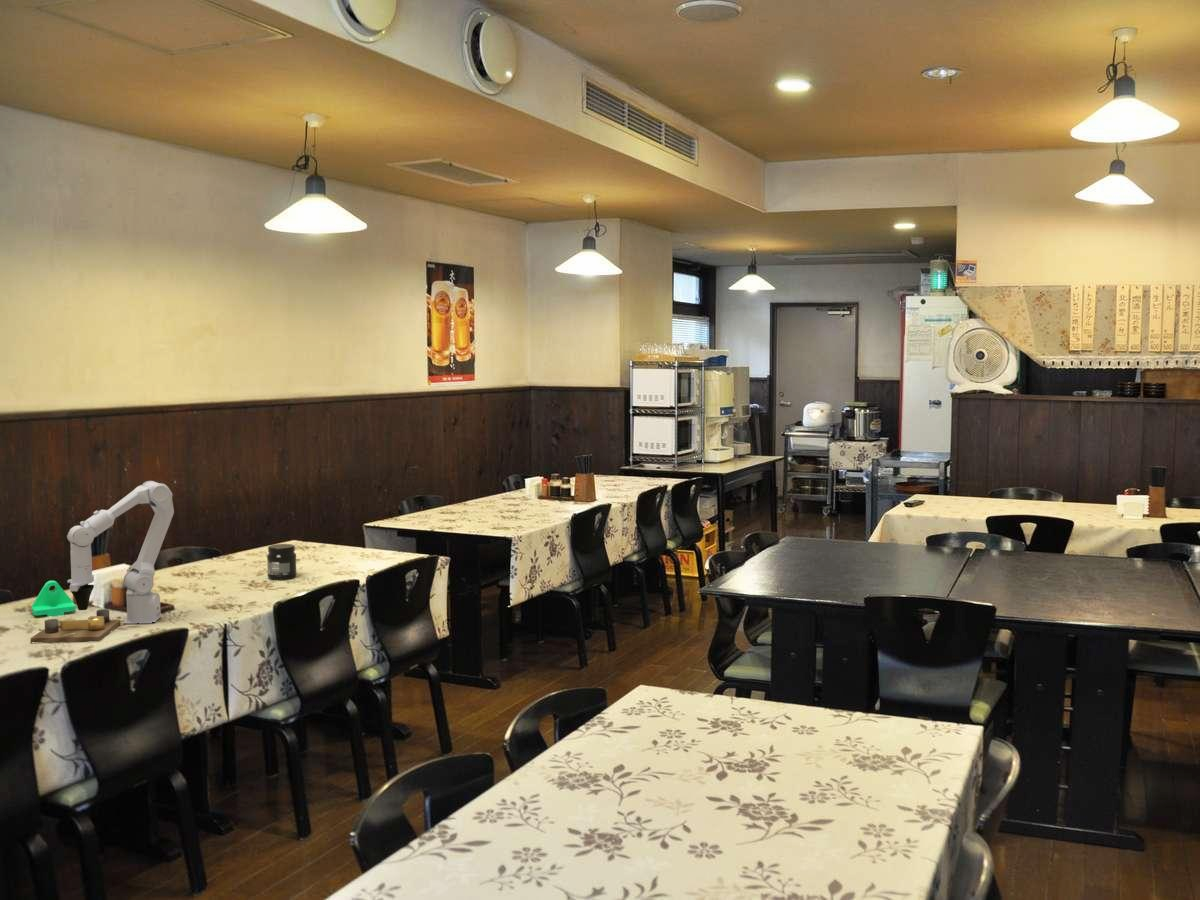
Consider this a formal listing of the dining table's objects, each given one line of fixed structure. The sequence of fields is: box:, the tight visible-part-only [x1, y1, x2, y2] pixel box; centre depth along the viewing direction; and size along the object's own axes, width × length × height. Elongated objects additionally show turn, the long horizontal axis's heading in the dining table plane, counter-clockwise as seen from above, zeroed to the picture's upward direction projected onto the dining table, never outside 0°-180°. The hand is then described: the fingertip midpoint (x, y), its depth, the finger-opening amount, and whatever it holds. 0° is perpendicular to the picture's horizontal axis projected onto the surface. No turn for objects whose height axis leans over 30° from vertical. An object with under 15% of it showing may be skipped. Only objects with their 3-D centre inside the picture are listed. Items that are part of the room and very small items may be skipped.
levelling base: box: [30, 608, 121, 643], centre depth 324 cm, size 19×19×5 cm
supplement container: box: [266, 543, 298, 581], centre depth 403 cm, size 10×10×12 cm
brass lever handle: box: [60, 615, 105, 630], centre depth 323 cm, size 12×4×3 cm, turn 97°
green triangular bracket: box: [31, 580, 77, 617], centre depth 348 cm, size 12×8×10 cm, turn 124°
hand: (82, 609), depth 328 cm, fingers closed
